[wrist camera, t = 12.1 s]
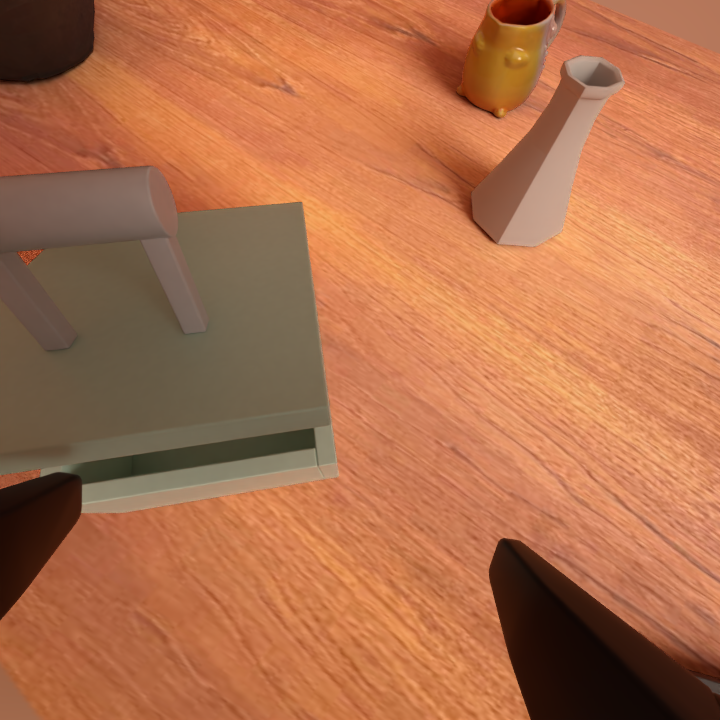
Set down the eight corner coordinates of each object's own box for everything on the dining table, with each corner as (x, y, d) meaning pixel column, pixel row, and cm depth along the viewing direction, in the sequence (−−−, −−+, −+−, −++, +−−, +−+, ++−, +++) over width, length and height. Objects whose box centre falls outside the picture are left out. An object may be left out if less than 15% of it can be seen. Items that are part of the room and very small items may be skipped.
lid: (331, 426, 9) (302, 221, 6) (-171, 502, 8) (-627, 308, 4) (304, 216, 20) (287, 95, 16) (81, 236, 18) (8, 112, 15)
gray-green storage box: (339, 476, 20) (337, 463, 14) (120, 513, 19) (31, 513, 13) (312, 278, 25) (304, 215, 20) (141, 297, 24) (83, 235, 19)
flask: (534, 176, 30) (617, 29, 21) (575, 241, 27) (691, 104, 18) (455, 189, 29) (506, 40, 20) (489, 257, 26) (566, 121, 17)
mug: (496, 127, 33) (530, 38, 26) (442, 90, 34) (463, -1, 28) (571, 80, 36) (617, -8, 30) (519, 49, 38) (552, -40, 32)
